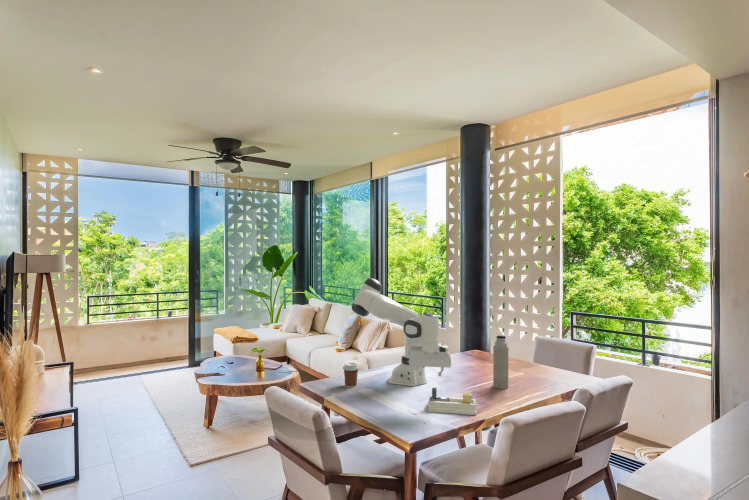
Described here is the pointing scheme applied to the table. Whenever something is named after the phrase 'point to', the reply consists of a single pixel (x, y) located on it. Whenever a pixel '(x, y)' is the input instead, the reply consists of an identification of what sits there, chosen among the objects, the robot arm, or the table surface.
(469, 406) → the cradle
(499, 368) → the thermos bottle
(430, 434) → the table surface
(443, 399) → the shaft
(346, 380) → the coffee cup
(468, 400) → the block
